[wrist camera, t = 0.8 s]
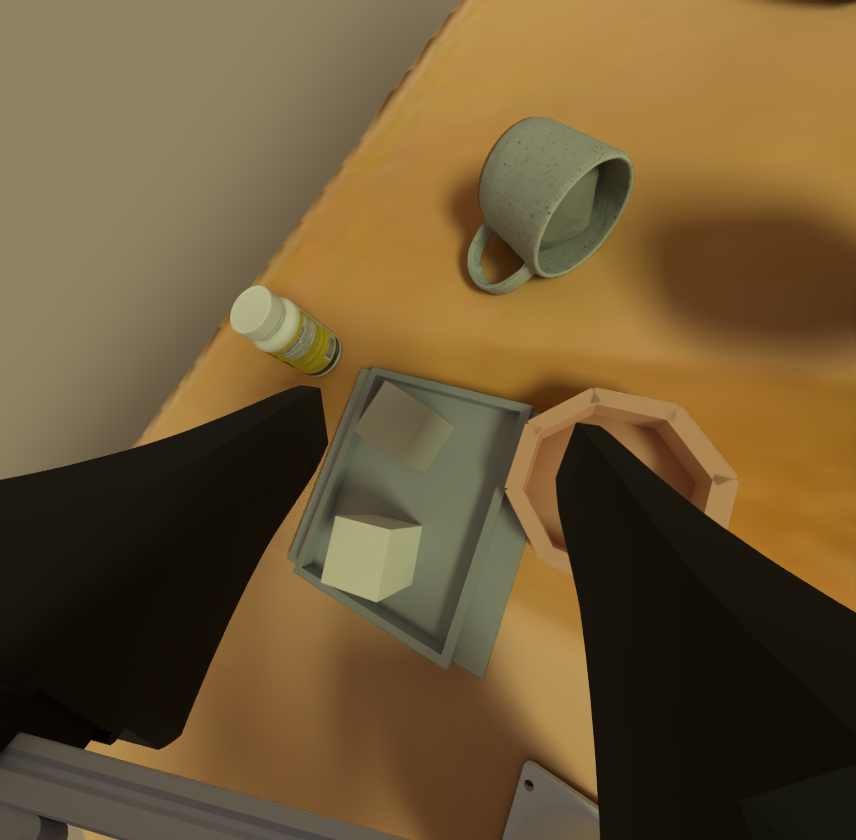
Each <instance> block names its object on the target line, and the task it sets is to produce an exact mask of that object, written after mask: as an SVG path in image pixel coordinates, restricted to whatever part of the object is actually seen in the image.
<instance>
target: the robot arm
mask: <svg viewBox="0 0 856 840" xmlns="http://www.w3.org/2000/svg"><path fill="white" fill-rule="evenodd" d="M327 445H328V438H327V431H326V424H325V417H324V410H323V403H322V396H321V390H320V388H316V387H309V386H301V385H300V386H297V387H294V388H291V389H288V390H286V391H283V392H281V393H278V394H276V395H273V396H271V397H269V398H266V399H264V400H262V401H259V402H257V403H255V404H252V405H250V406H248V407H245V408H243V409H241V410H238V411H236V412H234V413H231V414H229V415H226V416H224V417H221V418H219V419H216V420H214V421H211V422H208V423H206V424H203V425H201V426H198V427H196V428H193V429H191V430H188V431H185V432H182V433H180V434H177V435H174V436H171V437H168V438H165V439H162V440H159V441H155V442H152V443H149V444H146V445H143V446H140V447H136V448H133V449H129V450H126V451H122V452H118V453H114V454H111V455H107V456H103V457H99V458H95V459H92V460H88V461H84V462H80V463H76V464H72V465H69V466H64V467H60V468H55V469H51V470H46V471H41V472H37V473H33V474H28V475H23V476H18V477H13V478H8V479H3V480H0V840H67V837H68V826H67V824H69V825H72V826H75V827H79V828H82V829H85V830H88V831H92V832H95V833H98V834H101V835H105V836H108V837H111V838H115V839H118V840H409V839H406V838H402V837H398V836H395V835H391V834H388V833H384V832H380V831H377V830H373V829H370V828H366V827H362V826H359V825H355V824H351V823H348V822H344V821H341V820H337V819H333V818H330V817H326V816H322V815H319V814H315V813H312V812H308V811H304V810H301V809H297V808H294V807H290V806H286V805H283V804H279V803H275V802H272V801H268V800H265V799H261V798H257V797H254V796H250V795H246V794H243V793H239V792H236V791H232V790H228V789H225V788H221V787H218V786H214V785H210V784H207V783H203V782H199V781H196V780H192V779H189V778H185V777H181V776H178V775H174V774H170V773H167V772H163V771H160V770H156V769H152V768H149V767H145V766H141V765H138V764H134V763H131V762H127V761H123V760H120V759H116V758H113V757H109V756H105V755H102V754H98V753H94V752H91V751H87V750H84V749H85V747H86V746H87V745H88V743H89V742H90V741H91V740H92V741H96V742H100V743H104V744H107V745H111V744H113V743H114V742H115V741H116V740H117V739H120V740H124V741H127V742H131V743H135V744H138V745H142V746H146V747H150V748H153V749H157V750H159V749H161V748H164V747H165V746H167V745H168V744H170V743H172V742H173V741H174V740H176V739H177V738H178V737H179V736H180V735H181V734H182V732H183V729H184V727H185V724H186V721H187V719H188V716H189V714H190V711H191V709H192V707H193V704H194V702H195V699H196V697H197V694H198V692H199V690H200V687H201V685H202V682H203V680H204V678H205V675H206V673H207V670H208V668H209V665H210V663H211V661H212V659H213V657H214V654H215V652H216V650H217V648H218V645H219V643H220V641H221V639H222V637H223V634H224V632H225V630H226V628H227V625H228V623H229V621H230V619H231V617H232V615H233V613H234V611H235V609H236V607H237V604H238V602H239V600H240V598H241V596H242V594H243V592H244V590H245V588H246V586H247V584H248V582H249V580H250V578H251V576H252V574H253V572H254V570H255V568H256V567H257V565H258V563H259V561H260V559H261V557H262V555H263V553H264V551H265V549H266V548H267V546H268V544H269V543H270V541H271V539H272V538H273V536H274V534H275V533H276V531H277V530H278V528H279V527H280V525H281V524H282V522H283V521H284V519H285V518H286V516H287V514H288V513H289V511H290V510H291V508H292V507H293V505H294V504H295V502H296V501H297V499H298V498H299V496H300V495H301V493H302V492H303V490H304V489H305V487H306V486H307V484H308V482H309V481H310V479H311V478H312V476H313V475H314V473H315V471H316V469H317V467H318V465H319V463H320V461H321V459H322V457H323V455H324V452H325V450H326V448H327ZM555 481H556V495H557V505H558V513H559V517H560V522H561V526H562V531H563V535H564V539H565V544H566V548H567V552H568V556H569V561H570V565H571V569H572V573H573V578H574V582H575V586H576V591H577V596H578V601H579V606H580V613H581V621H582V628H583V636H584V644H585V652H586V661H587V671H588V680H589V689H590V699H591V711H592V723H593V735H594V746H595V759H596V776H597V792H598V805H596V804H595V803H593V802H592V801H591V800H589V799H588V798H586V797H585V796H583V795H582V794H580V793H579V792H577V791H576V790H575V789H573V788H572V787H570V786H569V785H567V784H566V783H564V782H563V781H561V780H560V779H558V778H557V777H556V776H554V775H553V774H551V773H550V772H548V771H547V770H545V769H544V768H542V767H541V766H540V765H538V764H537V763H535V762H533V761H527V762H525V763H524V765H523V768H522V772H521V775H520V779H519V782H518V786H517V789H516V793H515V796H514V800H513V803H512V807H511V810H510V814H509V817H508V821H507V824H506V827H505V831H504V834H503V838H502V840H856V612H854V611H852V610H851V609H849V608H847V607H845V606H844V605H842V604H840V603H839V602H837V601H835V600H834V599H832V598H830V597H829V596H827V595H826V594H824V593H822V592H821V591H819V590H818V589H816V588H814V587H813V586H811V585H809V584H808V583H806V582H805V581H803V580H801V579H800V578H798V577H797V576H795V575H793V574H792V573H790V572H789V571H787V570H785V569H784V568H782V567H781V566H779V565H778V564H776V563H775V562H773V561H772V560H770V559H768V558H767V557H765V556H764V555H762V554H761V553H759V552H758V551H757V550H755V549H754V548H752V547H751V546H749V545H748V544H747V543H745V542H744V541H742V540H741V539H739V538H738V537H737V536H735V535H734V534H732V533H731V532H729V531H728V530H726V529H725V528H724V527H722V526H721V525H720V524H718V523H717V522H715V521H714V520H713V519H711V518H710V517H709V516H707V515H706V514H705V513H703V512H702V511H701V510H700V509H698V508H697V507H696V506H695V505H693V504H692V503H691V502H690V501H688V500H687V499H686V498H684V497H683V496H682V495H681V494H679V493H678V492H677V491H676V490H675V489H673V488H672V487H671V486H670V485H669V484H667V483H666V482H665V481H664V480H663V479H661V478H660V477H659V476H658V475H657V474H656V473H654V472H653V471H652V470H651V469H650V468H649V467H648V466H646V465H645V464H644V463H643V462H642V461H641V460H640V459H638V458H637V457H636V456H635V455H634V454H633V453H632V452H631V451H630V450H628V449H627V448H626V447H625V446H624V445H623V444H622V443H621V442H619V441H618V440H617V439H616V438H615V437H614V436H612V435H611V434H610V433H609V432H608V431H606V430H605V429H604V428H603V427H601V426H600V425H593V424H585V423H578V422H576V424H575V427H574V429H573V432H572V435H571V437H570V440H569V443H568V445H567V448H566V451H565V453H564V456H563V459H562V461H561V464H560V467H559V470H558V472H557V475H556V478H555ZM525 780H530V781H531V782H532V783H533V786H528V785H527V784H526V782H525Z"/></svg>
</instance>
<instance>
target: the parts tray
mask: <svg viewBox="0 0 856 840" xmlns="http://www.w3.org/2000/svg"><path fill="white" fill-rule="evenodd" d="M385 381H388V382H389V383H391V384H393V385H394V386H396V387H397V388H399V389H400V390H402V391H404V392H405V393H407V394H408V395H410V396H411V397H413V398H415V399H416V400H418V401H419V402H421V403H423V404H424V405H426V406H427V407H429V408H430V409H432V410H433V411H434V412H436V413H437V414H438V415H440V416H441V417H442V418H443V419H445V420H446V421H447V422H449V423H450V424H451V425H453V426H454V428H453V430H452V431H451V433H450V434H449V436H448V437H447V439H446V440H445V442H444V443H443V445H442V447H441V448H440V450H439V451H438V453H437V454H436V456H435V457H434V459H433V460H432V462H431V463H430V465H429V466H428V468H427V469H426V471H422V470H418V469H415V468H411V467H408V466H404V465H400V464H397V463H395V462H393V461H392V460H391V459H389V458H388V457H387V456H386V455H384V454H383V453H382V452H380V451H379V450H378V449H377V448H375V447H374V446H373V445H371V444H370V443H369V442H368V441H366V440H365V439H364V438H362V437H361V436H360V435H358V434H357V433H356V432H355V431H353V429H354V428H355V426H356V425H357V423H358V422H359V420H360V419H361V417H362V416H363V414H364V413H365V411H366V410H367V408H368V407H369V405H370V404H371V402H372V401H373V399H374V398H375V396H376V394H377V393H378V391H379V390H380V388H381V387H382V385H383V384H384V382H385ZM540 414H542V413H540V412H536V411H534V410H533V406H531V405H527V404H523V403H519V402H515V401H511V400H507V399H503V398H499V397H495V396H491V395H487V394H482V393H478V392H474V391H470V390H466V389H462V388H458V387H454V386H450V385H446V384H442V383H437V382H433V381H429V380H425V379H421V378H417V377H413V376H409V375H405V374H401V373H397V372H392V371H388V370H384V369H380V368H376V367H372V369H371V370H369V369H365V368H362V369H361V371H360V374H359V376H358V379H357V381H356V384H355V387H354V389H353V392H352V394H351V397H350V399H349V402H348V404H347V407H346V410H345V412H344V415H343V417H342V420H341V422H340V425H339V427H338V430H337V433H336V435H335V438H334V440H333V443H332V445H331V448H330V450H329V453H328V456H327V458H326V461H325V463H324V466H323V468H322V471H321V473H320V476H319V478H318V481H317V484H316V486H315V489H314V491H313V494H312V496H311V499H310V501H309V504H308V507H307V509H306V512H305V514H304V517H303V519H302V522H301V524H300V527H299V530H298V532H297V535H296V537H295V540H294V542H293V545H292V547H291V550H290V553H289V555H288V558H287V559H289V560H291V561H292V562H294V563H296V565H295V568H294V570H293V572H294V573H295V574H297V575H298V576H300V577H301V578H303V579H305V580H306V581H308V582H309V583H311V584H312V585H314V586H315V587H317V588H319V589H320V590H322V591H323V592H325V593H326V594H328V595H330V596H331V597H333V598H334V599H336V600H337V601H339V602H340V603H342V604H344V605H345V606H347V607H348V608H350V609H351V610H353V611H354V612H356V613H358V614H359V615H361V616H362V617H364V618H365V619H367V620H368V621H370V622H372V623H373V624H375V625H376V626H378V627H379V628H381V629H382V630H384V631H386V632H387V633H389V634H390V635H392V636H393V637H395V638H396V639H398V640H400V641H401V642H403V643H404V644H406V645H407V646H409V647H410V648H412V649H414V650H415V651H417V652H418V653H420V654H421V655H423V656H425V657H426V658H428V659H429V660H431V661H432V662H434V663H435V664H437V665H439V666H440V667H442V668H443V669H445V670H446V671H447V670H448V668H449V667H450V665H451V664H452V663H453V662H454V663H456V664H457V665H459V666H461V667H462V668H464V669H465V670H467V671H469V672H470V673H472V674H473V675H475V676H477V677H478V678H480V679H481V680H483V678H484V675H485V672H486V669H487V665H488V662H489V659H490V656H491V653H492V649H493V646H494V643H495V640H496V636H497V633H498V630H499V627H500V623H501V620H502V617H503V614H504V611H505V607H506V604H507V601H508V598H509V594H510V591H511V588H512V585H513V581H514V578H515V575H516V572H517V569H518V565H519V562H520V559H521V556H522V552H523V549H524V546H525V543H526V539H527V534H526V532H525V530H524V528H523V526H522V524H521V522H520V520H519V518H518V516H517V514H516V512H515V510H514V508H513V506H512V504H511V502H510V500H509V498H508V496H507V494H506V492H505V490H507V488H505V484H506V481H507V478H508V475H509V472H510V469H511V466H512V463H513V460H514V457H515V454H516V450H517V447H518V444H519V441H520V438H521V435H522V432H523V429H524V426H525V423H527V424H528V422H527V421H528V420H530V419H532V418H534V417H536V416H538V415H540ZM374 514H375V515H379V516H383V517H388V518H392V519H396V520H400V521H404V522H408V523H412V524H417V525H421V526H422V530H421V536H420V541H419V547H418V553H417V558H416V564H415V569H414V575H413V581H412V584H411V585H409V586H407V587H406V588H404V589H402V590H400V591H398V592H396V593H394V594H392V595H390V596H388V597H386V598H384V599H382V600H380V601H378V602H374V601H371V600H368V599H365V598H363V597H360V596H357V595H354V594H352V593H349V592H346V591H343V590H340V589H338V588H335V587H332V586H329V585H327V584H324V583H321V578H322V574H323V569H324V565H325V561H326V556H327V552H328V547H329V543H330V539H331V534H332V530H333V525H334V521H335V516H345V515H374Z"/></svg>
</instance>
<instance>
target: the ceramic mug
mask: <svg viewBox="0 0 856 840" xmlns="http://www.w3.org/2000/svg"><path fill="white" fill-rule="evenodd" d="M633 180H634V166H633V163H632V161H631V159H630V157H629V156H628V155H627V154H626V152H624V151H622V150H620V149H618V148H615V147H613V146H610V145H608V144H606V143H604V142H602V141H600V140H597V139H595V138H593V137H591V136H589V135H587V134H584V133H582V132H580V131H578V130H575V129H573V128H571V127H569V126H567V125H565V124H563V123H561V122H558V121H556V120H554V119H550V118H542V117H529V118H526V119H523V120H521V121H519V122H517V123H515V124H514V125H512V126H511V127H510V128H508V129H507V130H506V131H505V132H504V133H503V134H502V135H501V136H500V138H499V139H498V140H497V142H496V143H495V144H494V146H493V147H492V149H491V150H490V152H489V154H488V156H487V158H486V160H485V163H484V165H483V168H482V172H481V175H480V179H479V187H478V201H479V206H480V209H481V211H482V213H483V215H484V217H485V222H484V223H483V224H482V225H481V226H480V228H479V229H478V231H477V232H476V235H475V236H474V238H473V240H472V242H471V245H470V247H469V250H468V257H467V267H468V271H469V274H470V277H471V278H472V280H473V281H474V283H475V284H476V285H477V286H478V287H479V288H480V289H482V290H484V291H486V292H488V293H491V294H494V295H500V294H506V293H509V292H512V291H514V290H516V289H517V288H518V287H520V286H521V285H522V284H524V283H525V282H526V281H528V280H529V279H530V278H531V277H532V276H533V275H534V274H538V275H540V276H541V277H544V278H555V277H558V276H562V275H564V274H566V273H568V272H570V271H571V270H573V269H574V268H576V267H577V266H579V265H580V264H581V263H583V262H584V261H585V260H586V259H588V258H589V257H590V256H591V255H592V254H593V253H594V252H595V251H596V250H597V249H598V248H599V247H600V246H601V245H602V243H603V242H604V241H605V239H606V238H607V237H608V235H609V234H610V233H611V231H612V230H613V228H614V227H615V226H616V224H617V222H618V221H619V219H620V217H621V215H622V213H623V211H624V209H625V207H626V204H627V202H628V199H629V196H630V193H631V190H632V187H633ZM494 232H496V233H497V234H498V235H499V236H500V237H501V238H502V239H503V241H504V242H507V243H508V244H509V245H510V247H511V248H512V249H513V250H514V251H515V252H516V253H517V255H518V256H519V257H520V258H521V259H522V260H523V261H524V262H525V263H524V264H523V266H522V267H521V268H520V269H519V270H518V271H517V272H515V273H514V274H513V275H511V276H510V277H509V278H507V279H506V280H504V281H502V282H500V283H496V284H490V283H489V281H488V280H487V279H486V277H485V275H484V273H483V268H482V267H481V266H480V259H481V255H482V252H483V250H484V248H485V245H486V244H487V242H488V241H489V239H490V238H491V236H492V235H493V233H494Z"/></svg>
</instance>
